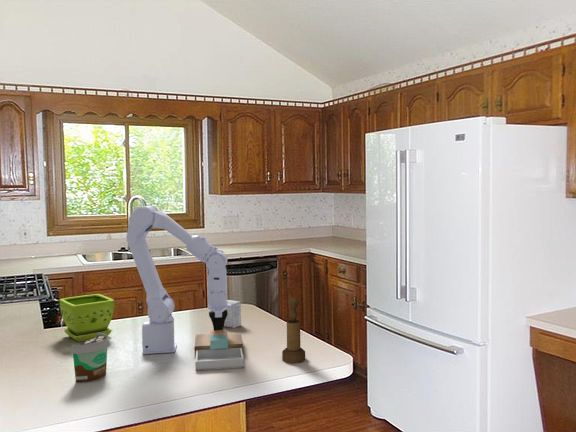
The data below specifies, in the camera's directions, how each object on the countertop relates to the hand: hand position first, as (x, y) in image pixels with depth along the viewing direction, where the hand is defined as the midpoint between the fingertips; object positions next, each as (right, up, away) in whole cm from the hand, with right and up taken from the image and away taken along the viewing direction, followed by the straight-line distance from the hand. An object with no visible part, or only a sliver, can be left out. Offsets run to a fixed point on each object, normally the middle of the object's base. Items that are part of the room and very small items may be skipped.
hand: (218, 335), depth 158 cm
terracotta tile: (+1, -1, -3) cm, 4 cm away
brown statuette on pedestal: (+23, -5, -10) cm, 25 cm away
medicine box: (0, -3, +27) cm, 27 cm away
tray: (+2, -5, -13) cm, 14 cm away
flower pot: (-46, -4, +15) cm, 48 cm away
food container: (-29, -6, -22) cm, 37 cm away
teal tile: (+1, -1, -8) cm, 9 cm away
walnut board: (0, -4, -1) cm, 5 cm away
